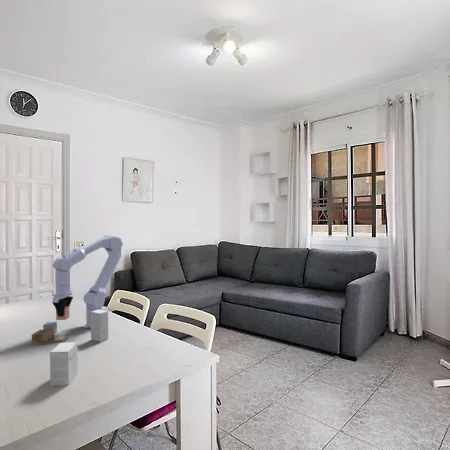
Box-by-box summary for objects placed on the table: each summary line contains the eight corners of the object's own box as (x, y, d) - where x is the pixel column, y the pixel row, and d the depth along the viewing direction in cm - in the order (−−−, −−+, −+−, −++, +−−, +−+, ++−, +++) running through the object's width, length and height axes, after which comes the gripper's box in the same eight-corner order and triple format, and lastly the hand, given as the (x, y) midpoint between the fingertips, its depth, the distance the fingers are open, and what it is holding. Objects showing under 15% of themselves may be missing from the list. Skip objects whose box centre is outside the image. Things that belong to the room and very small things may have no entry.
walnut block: (54, 339, 141) (54, 329, 141) (46, 344, 135) (46, 334, 135) (40, 339, 141) (40, 329, 141) (31, 344, 135) (31, 334, 135)
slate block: (57, 333, 148) (56, 321, 148) (52, 336, 144) (52, 324, 144) (47, 333, 148) (47, 322, 148) (43, 336, 144) (43, 324, 144)
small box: (60, 374, 109) (60, 342, 109) (78, 373, 109) (77, 341, 109) (49, 386, 101) (49, 352, 101) (68, 385, 101) (68, 351, 101)
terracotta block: (69, 317, 150) (69, 306, 150) (65, 319, 146) (65, 308, 146) (60, 317, 150) (60, 306, 150) (56, 320, 146) (56, 308, 146)
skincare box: (108, 338, 141) (108, 310, 140) (101, 342, 137) (100, 313, 137) (98, 336, 143) (97, 309, 143) (90, 340, 139) (90, 311, 139)
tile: (68, 337, 142) (68, 335, 142) (63, 342, 137) (63, 340, 137) (56, 337, 142) (56, 336, 142) (51, 342, 137) (51, 340, 137)
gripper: (61, 281, 155) (61, 310, 155) (45, 287, 140) (45, 319, 140) (76, 281, 155) (76, 310, 155) (62, 287, 140) (62, 319, 141)
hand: (63, 314), depth 148 cm, fingers closed on terracotta block, 4 cm apart
